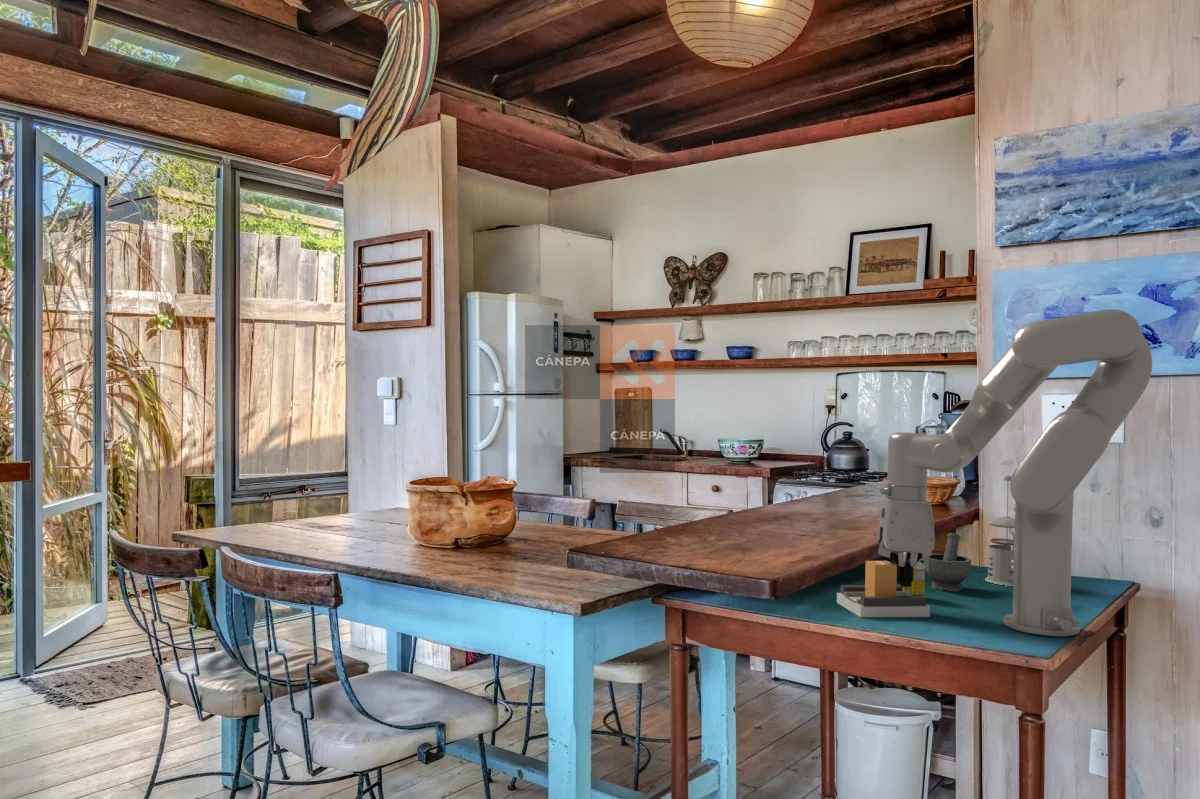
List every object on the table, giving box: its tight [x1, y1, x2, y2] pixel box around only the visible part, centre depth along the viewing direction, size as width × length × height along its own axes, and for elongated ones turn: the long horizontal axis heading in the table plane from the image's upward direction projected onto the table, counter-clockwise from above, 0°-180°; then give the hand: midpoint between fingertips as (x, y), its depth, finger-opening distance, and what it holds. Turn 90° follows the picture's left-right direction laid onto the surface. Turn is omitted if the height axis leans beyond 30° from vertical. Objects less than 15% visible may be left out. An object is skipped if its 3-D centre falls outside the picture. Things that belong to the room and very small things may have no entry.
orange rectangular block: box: [864, 560, 898, 596], centre depth 171 cm, size 4×4×7 cm
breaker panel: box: [836, 584, 931, 618], centre depth 172 cm, size 12×14×4 cm
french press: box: [984, 475, 1015, 587], centre depth 201 cm, size 10×12×25 cm
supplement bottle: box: [903, 552, 926, 598], centre depth 183 cm, size 5×5×10 cm
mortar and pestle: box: [923, 532, 972, 592], centre depth 193 cm, size 11×9×12 cm
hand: (904, 585), depth 172 cm, fingers closed
